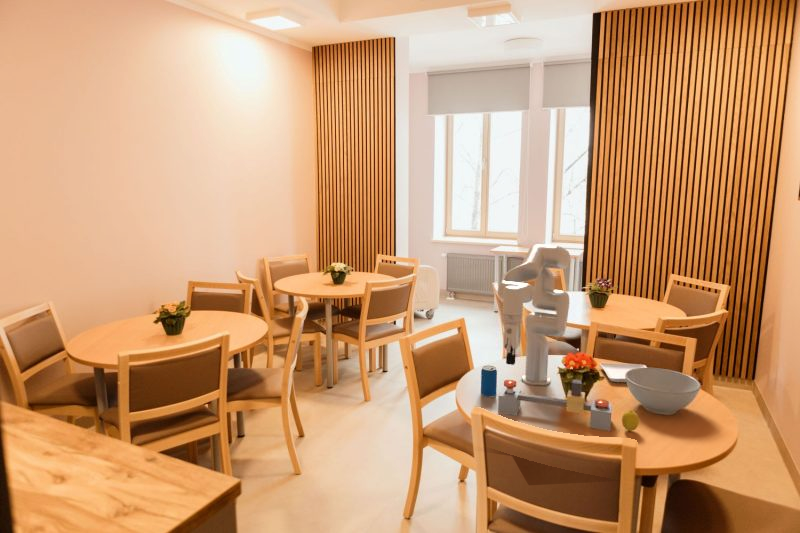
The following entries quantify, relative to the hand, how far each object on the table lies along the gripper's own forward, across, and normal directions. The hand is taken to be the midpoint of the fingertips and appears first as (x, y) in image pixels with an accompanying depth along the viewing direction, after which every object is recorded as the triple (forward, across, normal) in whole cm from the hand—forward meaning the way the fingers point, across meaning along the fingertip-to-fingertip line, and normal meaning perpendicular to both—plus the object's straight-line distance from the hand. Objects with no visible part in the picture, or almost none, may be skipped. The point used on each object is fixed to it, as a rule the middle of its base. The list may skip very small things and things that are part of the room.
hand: (510, 363), depth 212 cm
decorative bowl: (+19, +24, -55) cm, 63 cm away
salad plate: (+19, +56, -43) cm, 74 cm away
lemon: (+19, -2, -44) cm, 48 cm away
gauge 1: (+15, 0, 0) cm, 15 cm away
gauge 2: (+17, 0, -34) cm, 38 cm away
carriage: (+15, 0, -25) cm, 29 cm away
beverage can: (+19, +11, +11) cm, 25 cm away
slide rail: (+19, 0, -17) cm, 26 cm away
